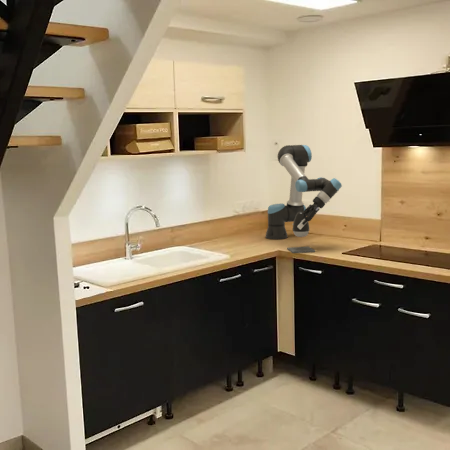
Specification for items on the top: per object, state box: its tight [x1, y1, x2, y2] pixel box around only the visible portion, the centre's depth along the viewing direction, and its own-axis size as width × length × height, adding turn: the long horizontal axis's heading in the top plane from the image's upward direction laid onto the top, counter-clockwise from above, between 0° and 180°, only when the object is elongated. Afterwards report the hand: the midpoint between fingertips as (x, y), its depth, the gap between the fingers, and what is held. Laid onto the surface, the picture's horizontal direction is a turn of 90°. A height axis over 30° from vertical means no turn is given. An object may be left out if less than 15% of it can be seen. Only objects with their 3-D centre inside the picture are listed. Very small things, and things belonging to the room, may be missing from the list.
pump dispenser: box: [292, 212, 310, 238], centre depth 353 cm, size 10×10×15 cm
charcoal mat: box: [286, 246, 316, 254], centre depth 356 cm, size 13×14×1 cm
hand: (296, 226), depth 353 cm, fingers closed on pump dispenser, 10 cm apart
